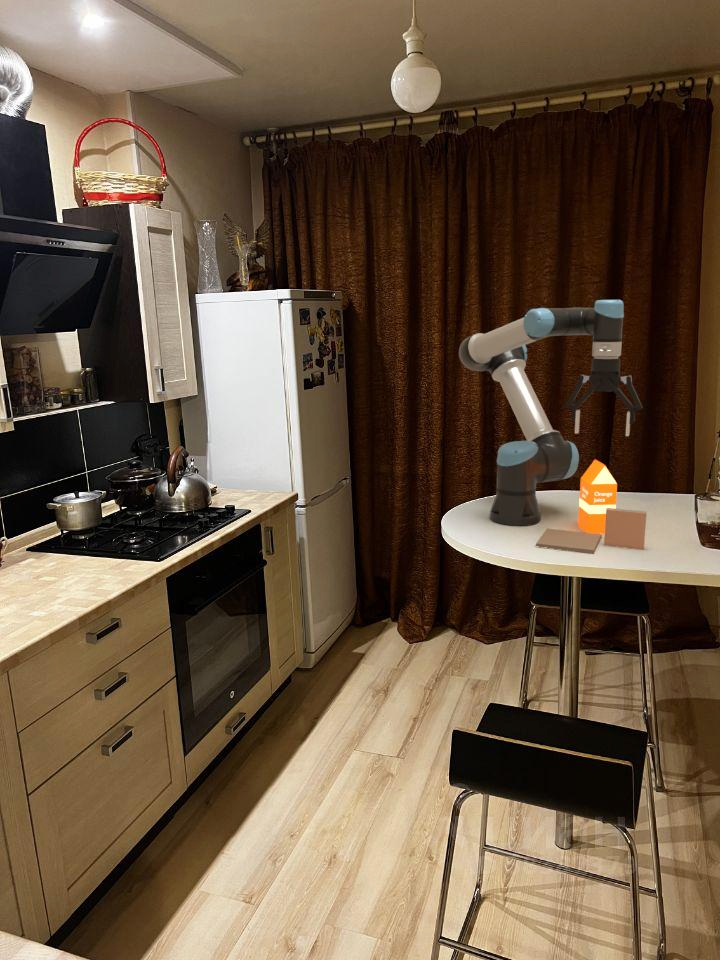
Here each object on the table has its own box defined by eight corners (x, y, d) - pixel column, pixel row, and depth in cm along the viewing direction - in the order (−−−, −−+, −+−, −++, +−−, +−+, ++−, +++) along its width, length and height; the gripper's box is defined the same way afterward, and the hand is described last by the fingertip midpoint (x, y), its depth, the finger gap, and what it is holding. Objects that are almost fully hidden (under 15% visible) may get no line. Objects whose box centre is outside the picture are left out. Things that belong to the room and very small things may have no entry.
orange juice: (587, 534, 206) (591, 465, 202) (577, 525, 215) (581, 459, 211) (614, 533, 207) (619, 464, 202) (603, 525, 215) (608, 458, 211)
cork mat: (535, 546, 196) (535, 543, 196) (546, 531, 209) (547, 528, 209) (593, 553, 190) (593, 550, 190) (601, 537, 203) (601, 534, 203)
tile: (603, 545, 197) (606, 509, 195) (604, 543, 199) (607, 507, 196) (643, 549, 193) (646, 513, 190) (644, 547, 194) (646, 511, 192)
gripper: (557, 358, 202) (554, 433, 206) (654, 358, 191) (648, 438, 196) (562, 356, 208) (558, 429, 213) (656, 357, 198) (650, 434, 203)
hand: (601, 434), depth 204 cm, fingers open, 13 cm apart
